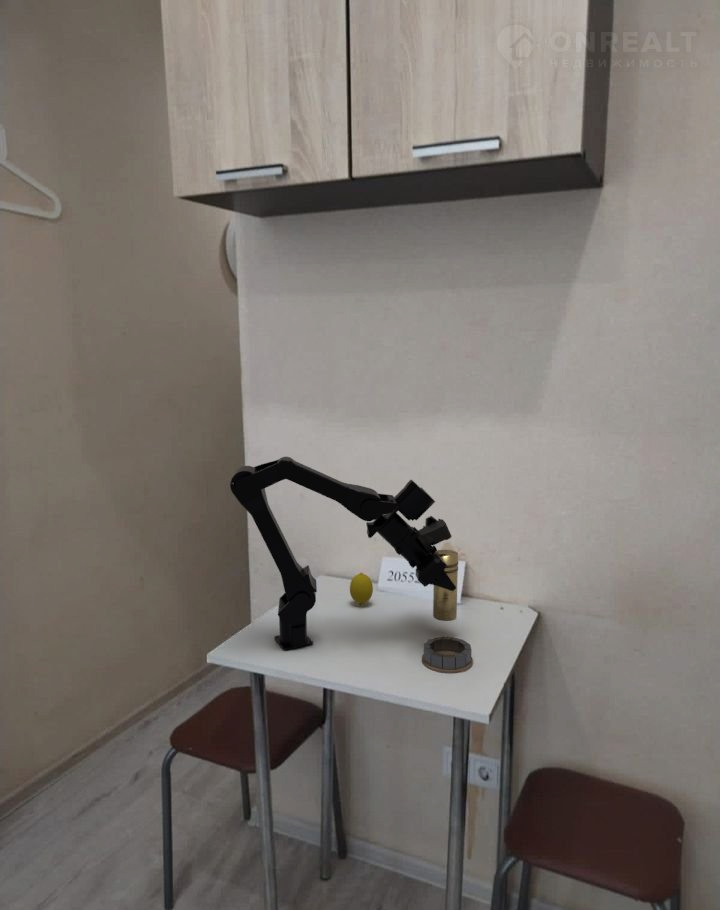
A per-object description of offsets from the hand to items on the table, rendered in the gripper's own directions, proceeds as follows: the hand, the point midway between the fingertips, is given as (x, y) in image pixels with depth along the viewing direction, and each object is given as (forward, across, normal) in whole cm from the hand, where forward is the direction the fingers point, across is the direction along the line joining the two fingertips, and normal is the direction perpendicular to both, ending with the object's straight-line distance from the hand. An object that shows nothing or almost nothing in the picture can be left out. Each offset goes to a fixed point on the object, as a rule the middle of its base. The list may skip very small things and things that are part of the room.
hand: (451, 584), depth 142 cm
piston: (+4, 0, +6) cm, 7 cm away
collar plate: (+6, -12, +10) cm, 17 cm away
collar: (+6, -12, +10) cm, 17 cm away
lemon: (-4, +19, +21) cm, 29 cm away
